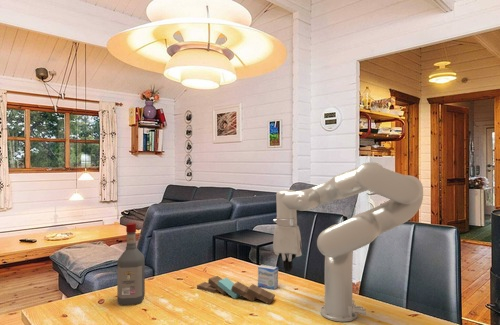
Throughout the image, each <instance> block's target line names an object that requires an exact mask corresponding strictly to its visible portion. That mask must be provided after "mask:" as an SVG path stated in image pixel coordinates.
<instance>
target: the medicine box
mask: <svg viewBox="0 0 500 325" xmlns="http://www.w3.org/2000/svg"><path fill="white" fill-rule="evenodd" d="M257 286H258V287H260V288H262V289H268V290H273V291H274V290H275V289H277V288H278V287H279V267H278V266H272V265H265V264H261V265H259V266H258V267H257Z"/></svg>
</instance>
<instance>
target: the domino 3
mask: <svg viewBox="0 0 500 325" xmlns="http://www.w3.org/2000/svg"><path fill="white" fill-rule="evenodd" d="M221 279H222V280H219V281H218V284H217V285H218V286H219V287H220V288H222V289H223V290H224V291H225V292H227V295H228V296H231V297H232V298H233V299H234V300H236V299H238V298H240V297H241V295H239V294H238V293H236V292H234V291H232V290H231V289H232V286H233V285H234V284H235V283H234V282H233V281H232V280H230V279H229V278H228V277H224V278H221Z"/></svg>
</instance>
